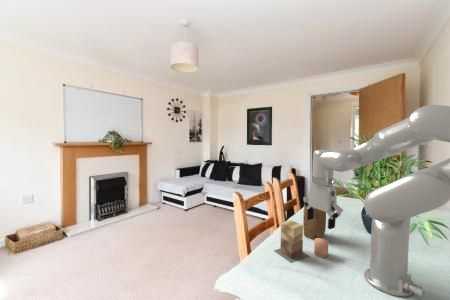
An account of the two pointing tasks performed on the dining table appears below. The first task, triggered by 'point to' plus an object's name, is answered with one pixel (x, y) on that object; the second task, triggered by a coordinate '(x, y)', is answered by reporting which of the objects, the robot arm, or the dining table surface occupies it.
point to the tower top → (291, 231)
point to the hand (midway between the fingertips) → (320, 223)
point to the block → (314, 224)
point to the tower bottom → (292, 248)
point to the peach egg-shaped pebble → (321, 248)
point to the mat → (290, 258)
